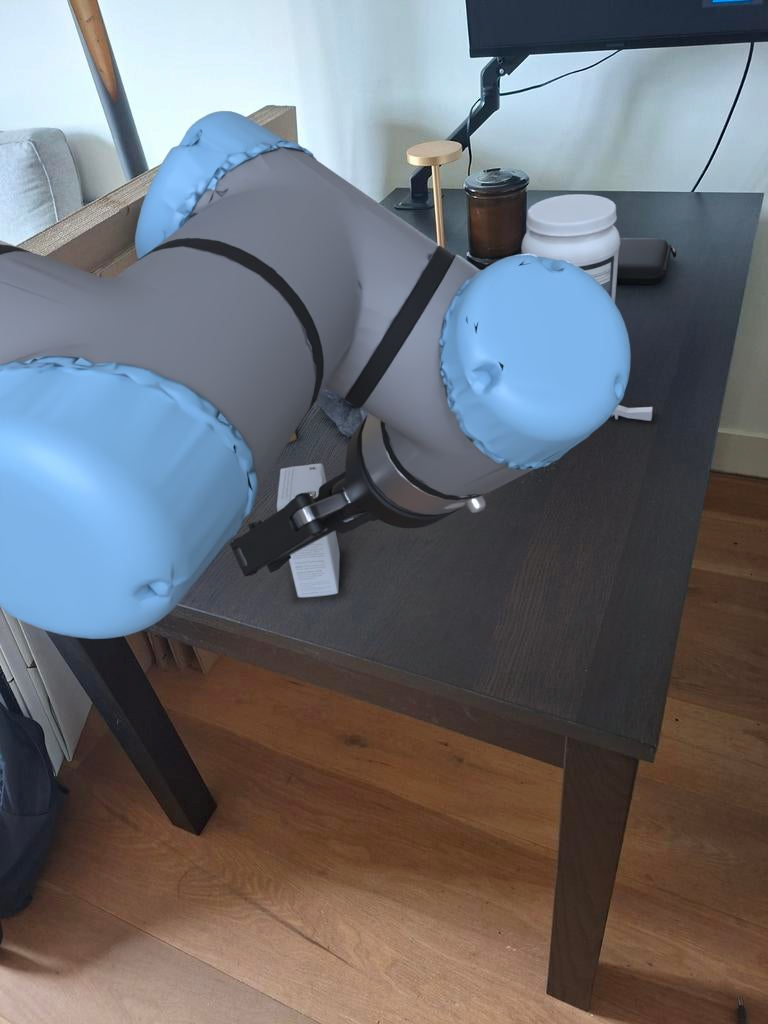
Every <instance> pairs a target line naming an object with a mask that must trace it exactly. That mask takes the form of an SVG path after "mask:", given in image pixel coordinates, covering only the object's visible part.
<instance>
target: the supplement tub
mask: <svg viewBox="0 0 768 1024" xmlns="http://www.w3.org/2000/svg"><path fill="white" fill-rule="evenodd" d="M526 216H527V217H526V219H527V220H526V228H527V229H528V230H527V231H526V233H525V234H524V236H523V238H522V241H521V246H520V249H521V254H533V255H536V256H539V257H545V258H550V259H556V260H565V261H568V262H570V263H572V264H574V265H576V266H578V267H579V268H581V269H583V270H584V271H586V272H587V273H588V274H590V275H591V276H592V277H593V278H594V279H595V280H596V281H597V282H599V283H600V285H601V286H602V287H603V288H604V289H605V290H606V292H607V293H608V294H609V296H610V297H611V298H612V300H613V301H614V303H615V304H616V298H617V285H618V284H617V273H618V259H619V246H620V239H621V237H620V233H619V230H618V229H617V227H616V226H615V225H614V224H615V223H616V221H617V218H618V217H617V204H615V202H614V201H612V199H609V198H607V197H604V196H599V195H595V194H586V193H585V194H584V193H583V194H582V193H581V194H580V193H577V194H575V193H574V194H564V195H557V196H552V197H547V198H545V199H542V200H540V201H538V202H536V203H534V204H532V205H531V206H530V207H529V208H528V210H527V215H526Z"/></svg>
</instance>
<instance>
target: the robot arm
mask: <svg viewBox="0 0 768 1024" xmlns="http://www.w3.org/2000/svg"><path fill="white" fill-rule="evenodd" d="M134 244H135V245H134V247H135V252H136V257H137V260H136V261H135V262H134V263H132V264H131V265H129V266H128V267H127V268H125V269H124V270H122V271H121V272H120V273H118V274H117V275H115V276H114V277H106V276H99V275H96V274H94V273H91V272H88V271H87V270H83V269H82V268H81V269H80V268H78V267H76V266H73V265H70V264H67V263H65V262H63V261H60V260H57V259H54V258H51V257H49V256H45V255H42V254H39V253H35V252H32V251H30V250H27V249H24V248H22V247H20V246H17V245H14V244H12V243H8V242H6V241H3V240H2V239H1V240H0V608H1V609H2V610H3V612H4V613H5V614H7V615H9V616H10V617H12V618H15V619H17V620H18V621H21V622H23V623H25V624H27V625H30V626H32V627H34V628H37V629H41V630H44V631H47V632H50V633H54V634H58V635H62V636H67V637H72V638H78V639H88V640H103V639H105V640H106V639H115V638H121V637H126V636H129V635H133V634H136V633H138V632H141V631H144V630H146V629H148V628H150V627H151V626H153V625H155V624H157V623H158V622H160V621H162V620H163V619H164V618H165V617H166V616H168V615H169V614H170V613H171V612H172V611H173V610H174V609H175V608H176V607H177V606H178V604H179V603H180V602H181V601H182V600H183V598H184V597H185V596H186V595H187V593H189V591H190V590H191V588H192V587H193V586H195V584H196V582H197V581H198V580H199V579H200V578H201V576H202V575H203V573H204V572H205V571H206V569H207V568H208V567H209V565H210V564H211V563H212V562H213V560H214V559H215V558H216V557H217V555H218V554H219V553H220V551H221V550H222V549H223V547H224V546H225V545H226V544H227V543H228V542H229V541H231V540H232V539H233V538H234V537H235V536H236V535H237V534H238V532H239V530H240V529H241V527H242V525H243V523H244V521H245V519H246V517H248V516H249V515H250V514H251V512H252V509H253V508H254V505H255V502H256V497H257V496H258V494H259V492H260V490H261V489H262V487H263V485H264V483H265V482H266V480H267V479H268V477H269V475H270V473H271V472H272V470H273V469H274V466H275V465H276V463H277V462H278V460H279V459H280V457H281V455H282V453H283V452H284V449H286V447H287V445H288V443H290V442H289V440H290V438H291V437H292V435H293V433H294V432H295V433H296V430H297V428H298V427H299V425H300V424H301V423H302V422H303V420H304V419H305V417H307V415H308V413H309V412H310V410H311V409H312V408H313V406H314V405H315V403H316V402H317V398H318V397H319V395H320V394H321V392H322V391H323V389H324V388H325V387H326V388H328V389H329V390H331V391H333V392H334V393H336V394H338V395H339V396H341V397H343V398H344V399H345V400H346V401H348V402H349V403H351V404H352V405H354V406H355V407H357V408H361V409H363V410H365V411H366V412H368V415H367V416H366V417H365V418H364V420H363V421H362V422H361V424H360V425H359V426H358V427H357V429H356V430H355V432H354V434H353V435H352V436H350V440H349V442H348V445H347V449H346V454H345V455H346V456H345V467H344V468H345V470H344V471H343V472H342V473H340V474H338V475H337V476H335V477H334V478H331V479H330V480H328V481H326V483H325V484H323V485H322V486H321V487H320V488H319V493H318V496H317V497H316V498H315V499H313V497H312V495H311V494H309V492H308V493H306V492H305V493H300V494H298V495H296V496H295V498H294V499H292V500H291V501H290V502H289V503H288V504H287V505H286V506H285V507H284V508H282V509H281V510H280V511H276V512H275V513H273V514H272V515H271V516H269V517H268V518H266V519H265V520H263V521H262V520H261V519H260V520H257V521H254V522H251V523H250V522H249V524H247V527H248V529H249V530H248V531H247V532H245V533H244V534H242V535H240V536H239V537H236V538H234V539H233V540H232V541H231V542H230V543H229V547H230V549H231V550H232V551H231V552H232V553H233V555H234V557H235V559H236V561H237V564H238V565H239V568H240V570H241V572H242V574H243V576H244V577H249V576H251V577H252V576H254V575H256V574H258V573H257V572H259V571H260V570H261V569H263V568H264V567H265V568H266V567H267V569H268V571H269V573H270V574H272V573H273V572H276V571H278V570H279V569H281V568H282V567H283V566H284V565H285V564H287V562H289V559H291V556H290V555H291V554H293V553H295V552H297V551H299V550H300V549H302V548H304V547H306V546H308V545H310V544H312V543H313V542H315V541H317V540H319V539H321V538H323V537H325V536H326V535H328V534H330V533H332V532H334V531H336V533H339V534H345V533H348V532H350V531H353V530H355V529H357V528H359V527H361V526H362V525H364V524H367V523H368V522H375V521H380V522H382V523H385V524H387V525H389V526H392V527H396V528H402V529H420V528H424V527H428V526H431V525H433V524H436V523H438V522H439V521H441V520H443V519H445V518H447V517H448V516H450V515H452V514H454V513H456V512H458V511H459V510H460V509H462V508H463V507H465V506H466V509H467V510H468V511H470V512H471V513H472V514H476V513H480V512H482V511H485V508H486V507H487V503H486V500H485V497H484V496H485V495H487V494H489V493H491V492H493V491H496V490H497V489H499V488H501V487H503V486H505V485H506V484H508V483H511V482H513V481H514V480H517V479H518V478H520V477H522V476H524V475H526V474H528V473H530V472H532V471H534V470H538V469H540V468H545V467H547V466H549V465H551V464H552V463H554V462H557V461H558V460H560V459H561V458H562V457H563V456H565V454H567V453H569V451H570V450H571V449H572V448H574V447H576V446H577V445H579V444H580V443H582V442H583V441H585V440H586V439H588V438H589V437H590V436H591V435H592V434H593V433H594V432H595V431H596V430H598V429H599V428H600V427H601V426H603V425H604V424H605V423H606V422H607V421H608V419H609V418H610V417H612V413H613V412H614V410H615V409H616V407H617V406H618V405H620V403H621V402H622V400H623V398H624V397H625V392H626V388H627V387H628V386H627V385H628V383H629V378H630V372H631V363H632V359H631V358H632V355H631V354H632V353H631V344H630V337H629V332H628V330H627V326H626V322H625V320H624V318H623V316H622V314H621V311H620V309H619V308H618V306H617V304H616V302H615V303H614V301H613V300H612V298H611V297H610V296H609V294H608V293H607V292H606V290H605V289H604V288H603V287H602V286H601V285H600V283H599V282H597V281H596V280H595V279H594V278H593V277H592V276H591V275H590V274H588V273H587V272H586V271H584V270H583V269H581V268H579V267H578V266H576V265H574V264H572V263H570V262H568V261H565V260H556V259H550V258H545V257H539V256H536V255H533V254H522V253H521V254H514V255H511V256H507V257H504V258H501V259H499V260H496V261H495V262H493V263H491V264H489V265H488V266H486V267H485V268H484V269H479V268H478V267H477V266H475V265H474V264H472V263H471V262H469V260H466V259H465V258H464V257H462V256H461V255H459V254H457V253H455V254H454V253H452V252H450V251H448V250H447V249H446V248H445V247H443V246H442V245H439V244H438V243H437V242H435V241H434V240H432V239H431V238H429V237H428V236H427V235H425V234H424V233H423V232H421V231H419V230H418V229H417V228H415V227H414V226H413V225H411V224H409V223H408V222H407V221H406V220H404V219H402V218H401V217H399V216H398V215H397V214H395V213H393V212H392V211H390V210H389V209H388V208H386V207H385V206H383V205H382V204H381V203H379V202H378V201H377V200H375V199H374V198H372V197H370V196H369V195H368V194H366V193H364V192H363V191H362V190H361V189H359V188H357V187H356V186H355V185H353V184H352V183H350V182H349V181H347V179H345V178H343V177H342V176H340V175H339V174H337V173H336V172H335V171H333V170H332V169H331V168H329V167H327V166H326V165H324V164H323V163H322V162H320V161H319V160H318V159H317V157H315V156H314V153H313V152H312V151H310V150H308V148H306V147H303V146H301V145H300V144H299V143H297V142H293V141H289V140H286V139H285V138H283V137H281V136H279V135H278V134H276V133H274V132H272V131H271V130H269V129H267V128H266V127H264V126H262V125H260V124H258V123H257V122H255V121H254V120H252V119H250V118H248V117H247V116H245V115H244V114H241V113H238V112H235V111H232V110H219V111H213V112H210V113H207V114H206V115H204V116H202V117H201V118H199V119H197V120H196V121H194V122H193V124H191V125H190V126H189V128H188V129H187V130H186V132H185V134H184V136H183V137H182V139H181V141H180V142H179V144H178V145H175V146H173V147H171V148H170V150H169V151H168V153H167V154H166V156H165V157H164V159H163V161H162V162H161V164H160V165H159V167H158V169H157V170H156V172H155V175H154V177H153V178H152V181H151V183H150V185H149V187H148V189H147V192H146V194H145V196H144V198H143V201H142V204H141V206H140V212H139V215H138V220H137V224H136V230H135V234H134ZM356 515H358V516H356ZM353 516H356V517H355V518H353Z"/></svg>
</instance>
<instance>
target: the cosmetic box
mask: <svg viewBox="0 0 768 1024" xmlns="http://www.w3.org/2000/svg"><path fill="white" fill-rule="evenodd" d="M325 483H327V479H326V473H325V468H324V464H323V463H314V464H313V463H311V464H304V465H297V466H296V465H295V466H289V467H283V468H280V470H279V480H278V489H277V498H276V499H277V500H276V512H278V511H280V510H281V509H282V508H284V507H285V506H286V505H287V504H288V503H289V502H290V501H291V500H292V499H294V498H295V496H296V495H298V494H300V493H305V492H306V493H308V492H309V494H311V495H312V497H313V499H315V498H316V497H317V496H318V493H319V488H320V487H321V486H322V485H323V484H325ZM290 556H291V559H289V560H288V562H289V566H290V570H291V575H292V580H293V583H294V587H295V591H296V592H295V593H296V595H297V598H314V597H326V596H332V595H336V594H339V590H340V589H339V585H340V584H339V583H340V548H339V542H338V537H337V531H334V532H332V533H330V534H328V535H326V536H325V537H323V538H321V539H319V540H317V541H315V542H313V543H312V544H310V545H308V546H306V547H304V548H302V549H300V550H299V551H297V552H295V553H293V554H291V555H290Z"/></svg>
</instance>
